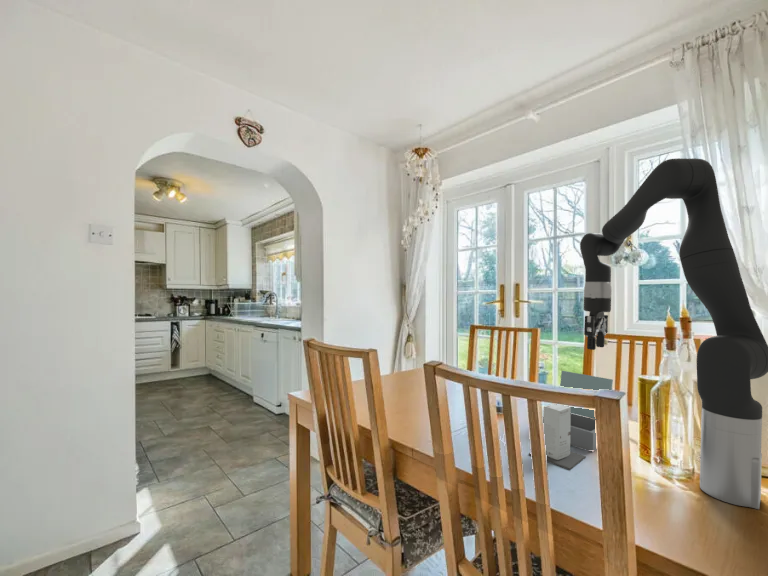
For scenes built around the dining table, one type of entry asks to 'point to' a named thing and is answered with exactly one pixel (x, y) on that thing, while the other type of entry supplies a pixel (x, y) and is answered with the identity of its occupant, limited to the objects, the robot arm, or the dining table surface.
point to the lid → (584, 387)
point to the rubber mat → (567, 460)
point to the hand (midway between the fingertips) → (595, 348)
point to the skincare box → (557, 430)
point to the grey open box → (582, 432)
